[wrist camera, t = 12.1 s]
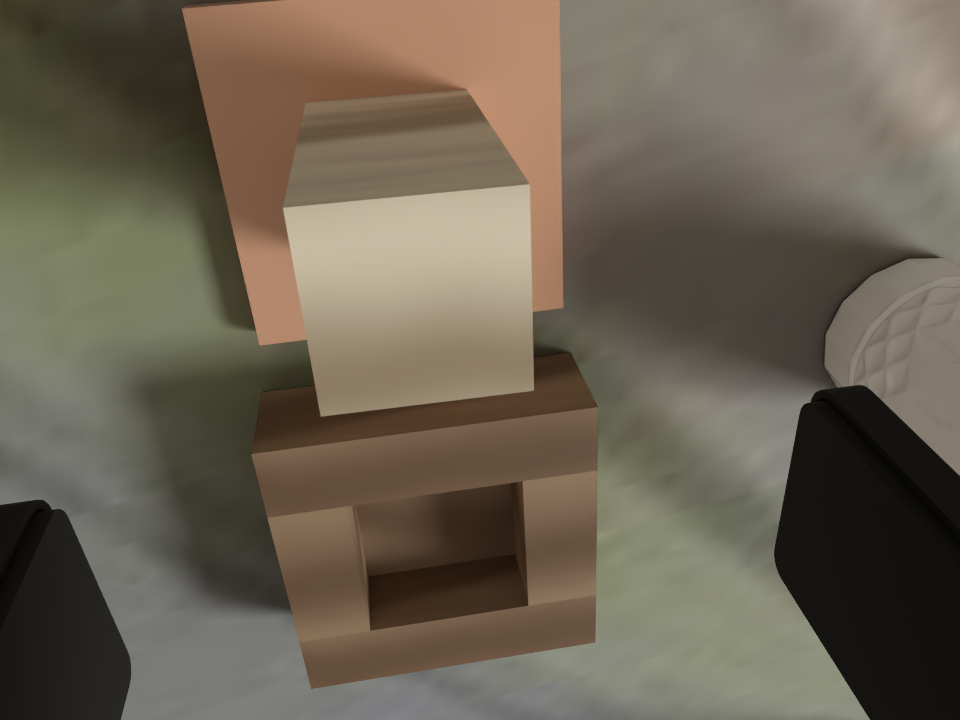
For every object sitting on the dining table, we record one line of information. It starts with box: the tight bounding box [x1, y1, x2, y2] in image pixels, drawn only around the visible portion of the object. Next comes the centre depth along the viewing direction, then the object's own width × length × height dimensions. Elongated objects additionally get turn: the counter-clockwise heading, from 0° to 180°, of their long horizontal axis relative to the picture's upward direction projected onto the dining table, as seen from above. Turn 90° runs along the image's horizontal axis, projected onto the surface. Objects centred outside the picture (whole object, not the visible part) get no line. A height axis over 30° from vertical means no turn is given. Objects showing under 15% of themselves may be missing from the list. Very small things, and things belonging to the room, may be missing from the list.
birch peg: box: [283, 89, 534, 417], centre depth 22 cm, size 5×5×10 cm
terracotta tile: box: [182, 0, 563, 345], centre depth 26 cm, size 11×11×1 cm
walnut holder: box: [251, 353, 598, 689], centre depth 32 cm, size 12×12×4 cm
